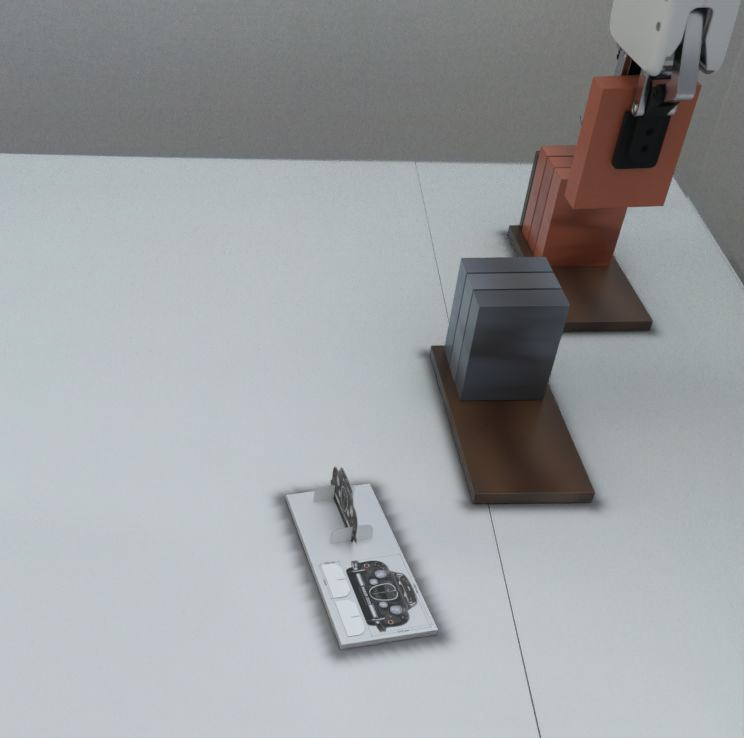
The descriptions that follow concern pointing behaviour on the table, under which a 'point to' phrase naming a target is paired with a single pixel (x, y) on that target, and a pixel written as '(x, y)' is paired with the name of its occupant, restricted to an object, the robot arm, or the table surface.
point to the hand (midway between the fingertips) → (626, 155)
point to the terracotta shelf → (591, 289)
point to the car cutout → (359, 565)
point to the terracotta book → (597, 145)
